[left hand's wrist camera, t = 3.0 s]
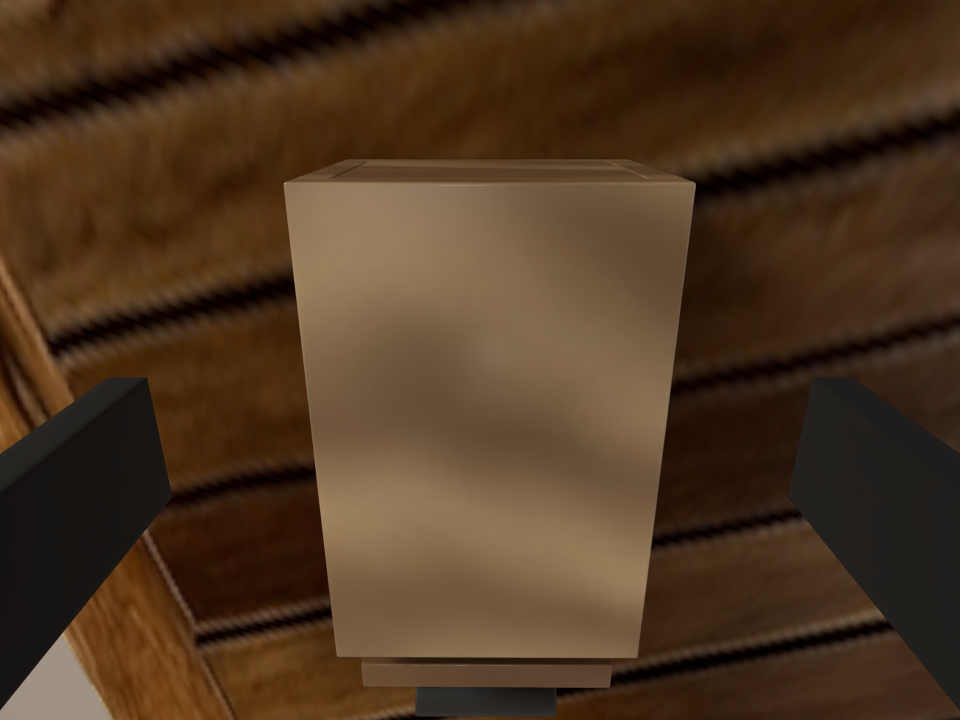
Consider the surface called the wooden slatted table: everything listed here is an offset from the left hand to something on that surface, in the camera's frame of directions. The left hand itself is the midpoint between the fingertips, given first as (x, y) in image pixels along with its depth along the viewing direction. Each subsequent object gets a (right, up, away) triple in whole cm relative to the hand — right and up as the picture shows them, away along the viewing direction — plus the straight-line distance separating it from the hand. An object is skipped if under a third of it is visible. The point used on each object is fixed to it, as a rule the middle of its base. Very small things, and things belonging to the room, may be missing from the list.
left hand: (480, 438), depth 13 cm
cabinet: (0, +2, +14) cm, 14 cm away
